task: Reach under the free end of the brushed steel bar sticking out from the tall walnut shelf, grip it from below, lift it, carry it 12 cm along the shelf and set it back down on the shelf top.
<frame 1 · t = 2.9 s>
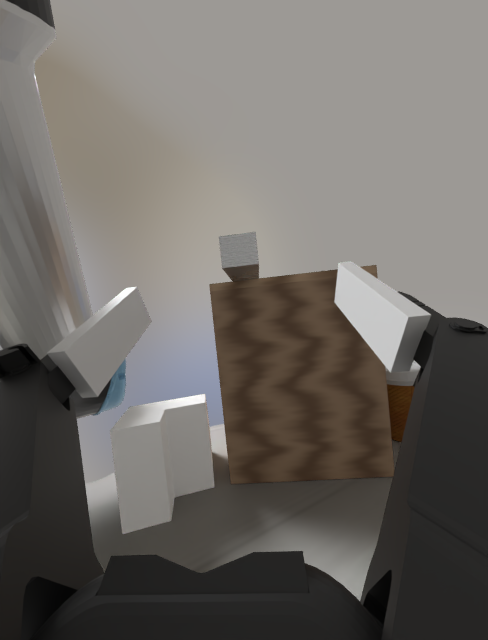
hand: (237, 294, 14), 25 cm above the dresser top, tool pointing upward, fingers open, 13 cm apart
steel bar: (246, 282, 31), point 28 cm above the dresser top, touching walnut shelf
walnut shelf: (301, 451, 35), on the dresser top
corner bracket: (176, 485, 31), on the dresser top
disposable coffee cup: (401, 434, 37), on the dresser top
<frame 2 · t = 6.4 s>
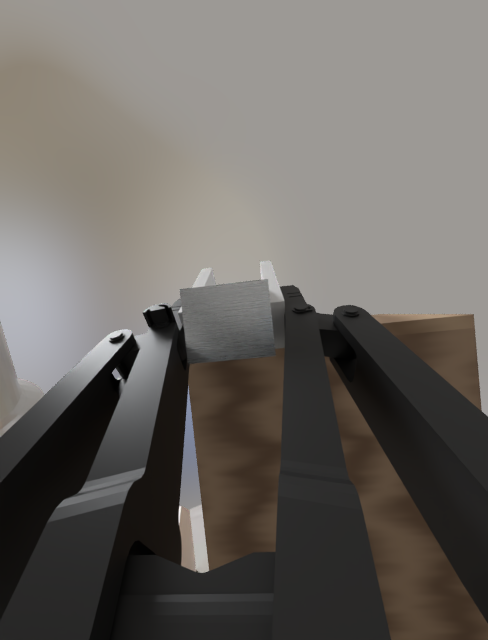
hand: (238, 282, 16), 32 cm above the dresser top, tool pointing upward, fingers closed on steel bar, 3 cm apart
steel bar: (246, 333, 19), point 28 cm above the dresser top, touching gripper, walnut shelf
walnut shelf: (330, 581, 23), on the dresser top
when the fingers open (34 cm above the dresser top, at t = 10.6 s): steel bar drops 2 cm, resting on walnut shelf.
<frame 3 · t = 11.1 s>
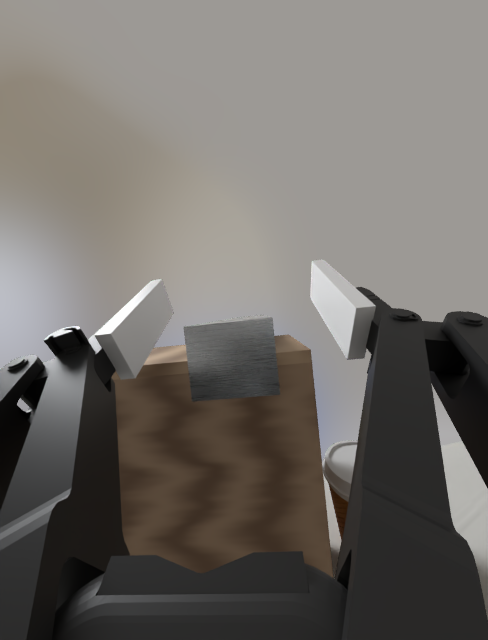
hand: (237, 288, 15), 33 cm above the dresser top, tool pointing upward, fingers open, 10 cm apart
steel bar: (248, 350, 19), point 28 cm above the dresser top, touching walnut shelf
walnut shelf: (222, 595, 24), on the dresser top
disposable coffee cup: (371, 558, 26), on the dresser top
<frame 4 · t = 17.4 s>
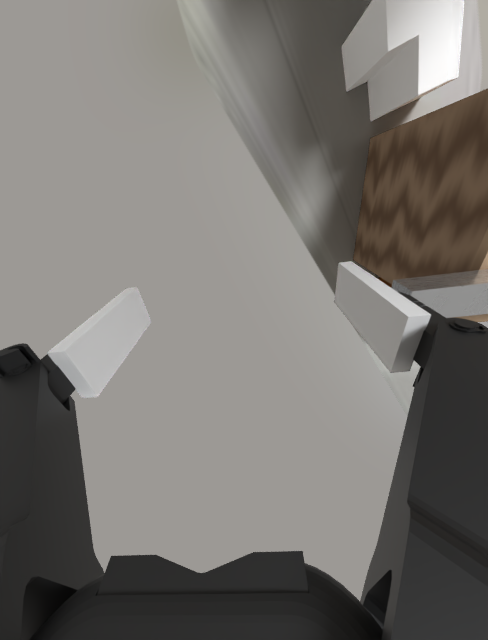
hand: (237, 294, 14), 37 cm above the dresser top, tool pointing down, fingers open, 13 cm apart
walnut shelf: (390, 202, 43), on the dresser top
corner bracket: (381, 73, 34), on the dresser top
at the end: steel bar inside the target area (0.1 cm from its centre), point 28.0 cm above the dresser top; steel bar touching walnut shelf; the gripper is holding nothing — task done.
